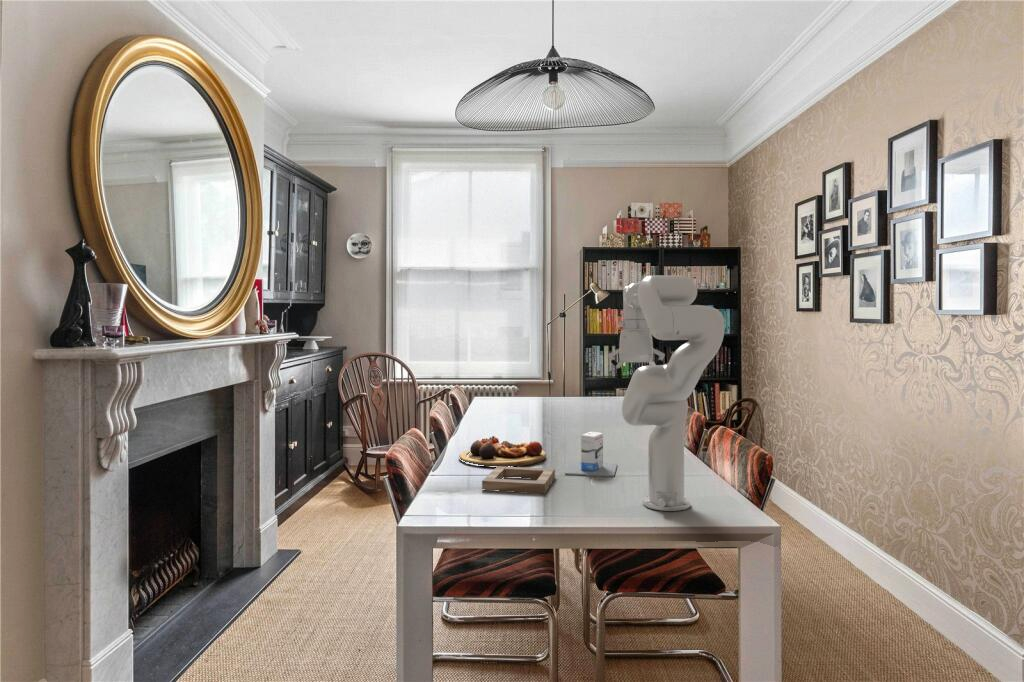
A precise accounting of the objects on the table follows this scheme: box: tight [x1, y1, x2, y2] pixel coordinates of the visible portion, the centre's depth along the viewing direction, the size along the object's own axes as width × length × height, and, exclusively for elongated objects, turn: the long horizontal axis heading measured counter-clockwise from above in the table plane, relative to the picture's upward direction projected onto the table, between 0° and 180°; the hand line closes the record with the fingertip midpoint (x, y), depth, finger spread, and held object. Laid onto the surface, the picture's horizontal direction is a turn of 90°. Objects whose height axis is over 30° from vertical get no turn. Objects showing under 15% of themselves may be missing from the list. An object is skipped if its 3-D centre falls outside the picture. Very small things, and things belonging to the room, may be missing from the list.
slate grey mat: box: [564, 461, 618, 478], centre depth 215 cm, size 16×16×1 cm
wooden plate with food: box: [458, 435, 547, 467], centre depth 235 cm, size 32×32×8 cm
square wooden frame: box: [481, 466, 556, 495], centre depth 198 cm, size 19×19×3 cm
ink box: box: [580, 431, 604, 471], centre depth 215 cm, size 8×5×12 cm, turn 151°
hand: (636, 381), depth 197 cm, fingers open, 9 cm apart
